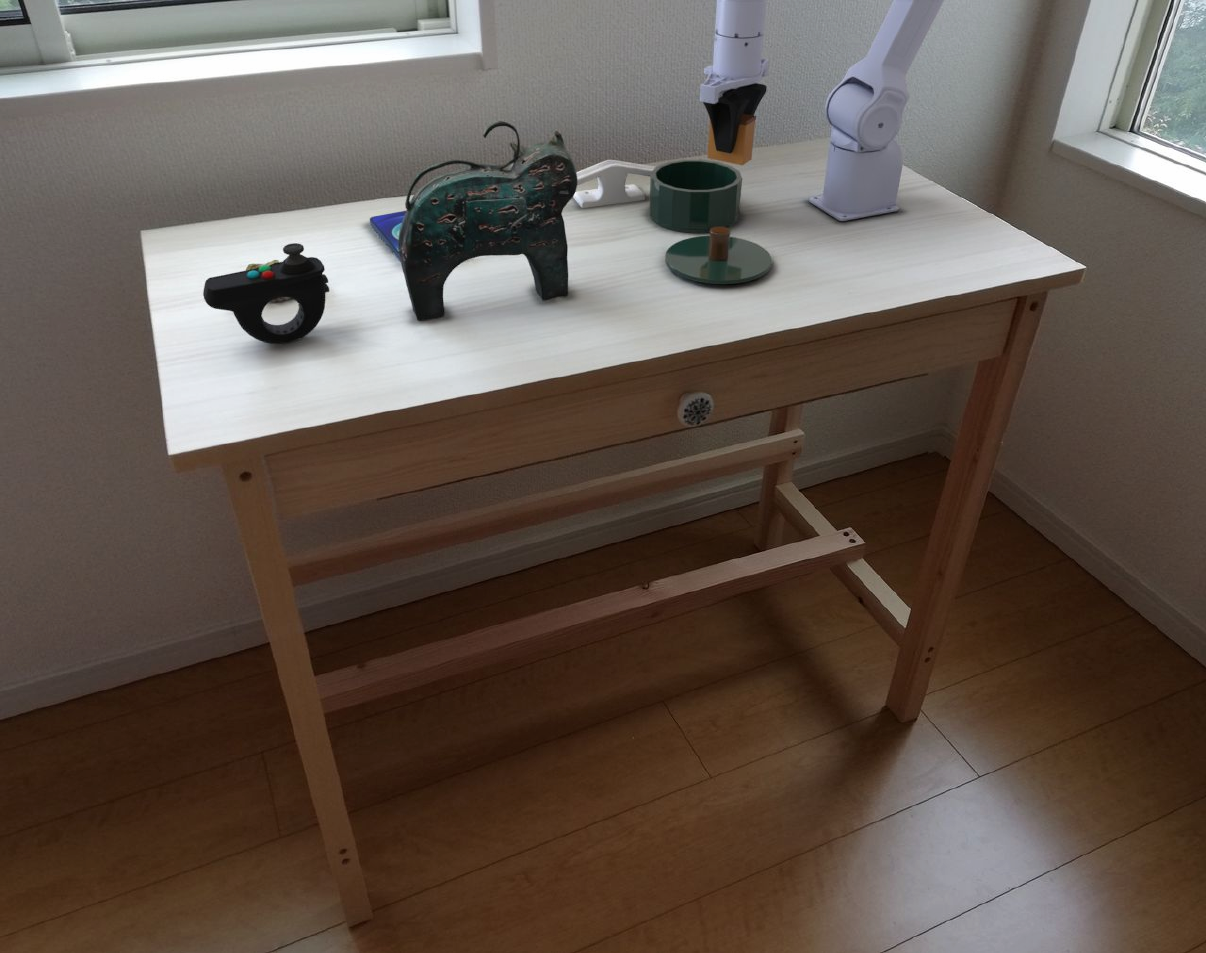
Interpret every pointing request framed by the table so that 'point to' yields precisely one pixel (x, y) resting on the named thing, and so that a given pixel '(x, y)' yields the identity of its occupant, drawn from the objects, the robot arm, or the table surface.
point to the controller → (273, 295)
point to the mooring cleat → (610, 183)
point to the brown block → (742, 145)
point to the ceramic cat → (489, 220)
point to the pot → (695, 195)
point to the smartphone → (389, 229)
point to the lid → (718, 258)
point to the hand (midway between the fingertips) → (730, 147)
